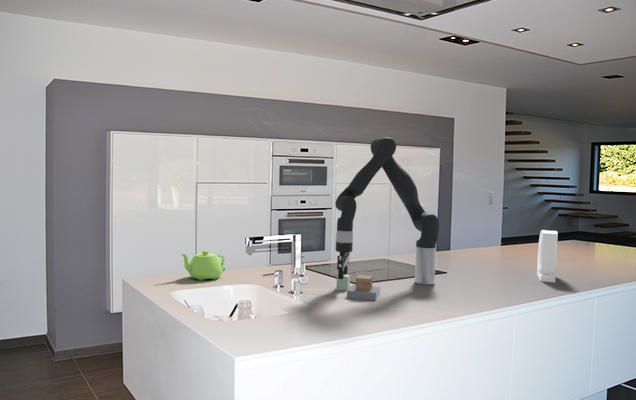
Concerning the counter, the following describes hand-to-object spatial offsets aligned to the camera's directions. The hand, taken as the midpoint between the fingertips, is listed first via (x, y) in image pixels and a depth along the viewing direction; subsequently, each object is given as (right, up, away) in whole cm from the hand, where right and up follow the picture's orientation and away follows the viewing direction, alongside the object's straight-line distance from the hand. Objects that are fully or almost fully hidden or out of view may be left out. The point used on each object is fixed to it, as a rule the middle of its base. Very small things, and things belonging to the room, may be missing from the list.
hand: (342, 277), depth 233 cm
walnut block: (+8, -3, -12) cm, 15 cm away
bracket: (+106, -6, +36) cm, 112 cm away
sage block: (0, -5, 0) cm, 5 cm away
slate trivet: (+8, -6, -12) cm, 16 cm away
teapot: (-65, -3, +15) cm, 67 cm away
